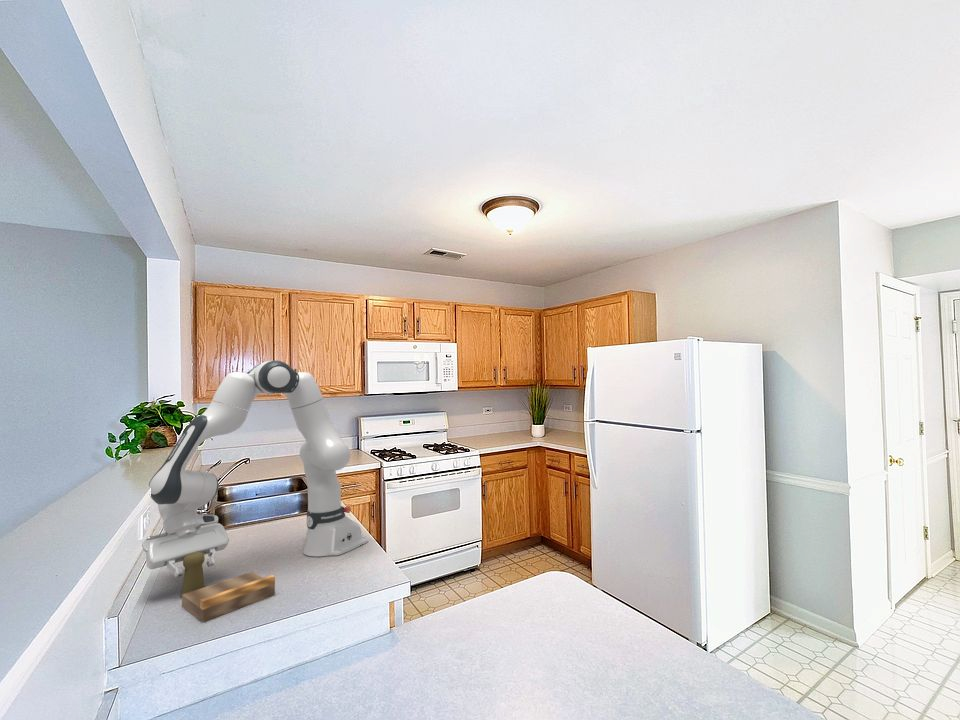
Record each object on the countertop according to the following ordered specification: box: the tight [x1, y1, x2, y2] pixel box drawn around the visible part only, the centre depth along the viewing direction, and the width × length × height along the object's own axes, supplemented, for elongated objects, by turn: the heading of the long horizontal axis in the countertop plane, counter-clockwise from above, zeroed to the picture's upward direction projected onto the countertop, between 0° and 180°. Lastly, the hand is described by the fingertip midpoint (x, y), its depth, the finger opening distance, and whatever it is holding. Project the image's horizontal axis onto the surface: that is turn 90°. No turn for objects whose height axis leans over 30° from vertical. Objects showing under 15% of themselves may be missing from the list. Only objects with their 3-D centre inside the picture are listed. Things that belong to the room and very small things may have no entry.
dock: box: [181, 571, 276, 623], centre depth 121 cm, size 18×14×5 cm
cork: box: [180, 552, 206, 599], centre depth 126 cm, size 6×6×11 cm
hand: (195, 570), depth 126 cm, fingers open, 7 cm apart
